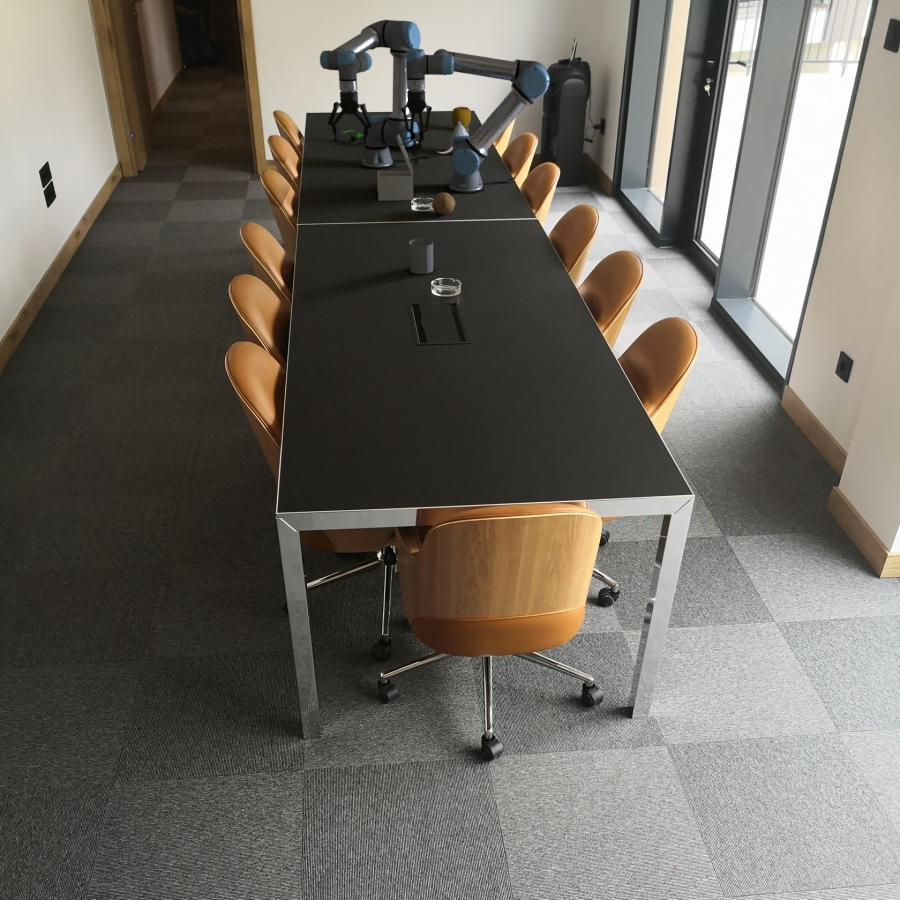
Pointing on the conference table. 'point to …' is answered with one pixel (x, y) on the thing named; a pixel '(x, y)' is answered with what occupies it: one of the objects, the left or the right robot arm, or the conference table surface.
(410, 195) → the chest
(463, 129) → the toy
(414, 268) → the cup
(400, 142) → the lid
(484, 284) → the conference table surface
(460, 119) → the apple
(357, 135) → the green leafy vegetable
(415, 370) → the conference table surface
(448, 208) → the potato
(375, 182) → the block
